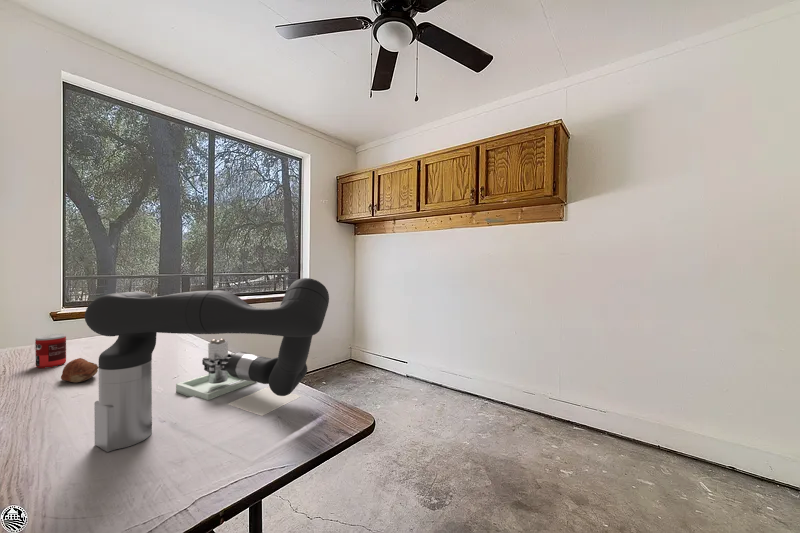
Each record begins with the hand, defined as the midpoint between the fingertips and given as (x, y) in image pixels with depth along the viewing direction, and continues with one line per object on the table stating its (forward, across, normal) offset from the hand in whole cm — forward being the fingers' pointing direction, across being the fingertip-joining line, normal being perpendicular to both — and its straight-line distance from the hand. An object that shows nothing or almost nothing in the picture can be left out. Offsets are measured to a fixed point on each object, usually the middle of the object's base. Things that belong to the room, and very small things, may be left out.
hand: (213, 358), depth 105 cm
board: (-24, 0, +9) cm, 26 cm away
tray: (-2, 0, +9) cm, 9 cm away
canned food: (+72, +17, +8) cm, 74 cm away
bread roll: (+44, +18, +9) cm, 48 cm away
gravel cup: (-3, 0, +7) cm, 7 cm away
